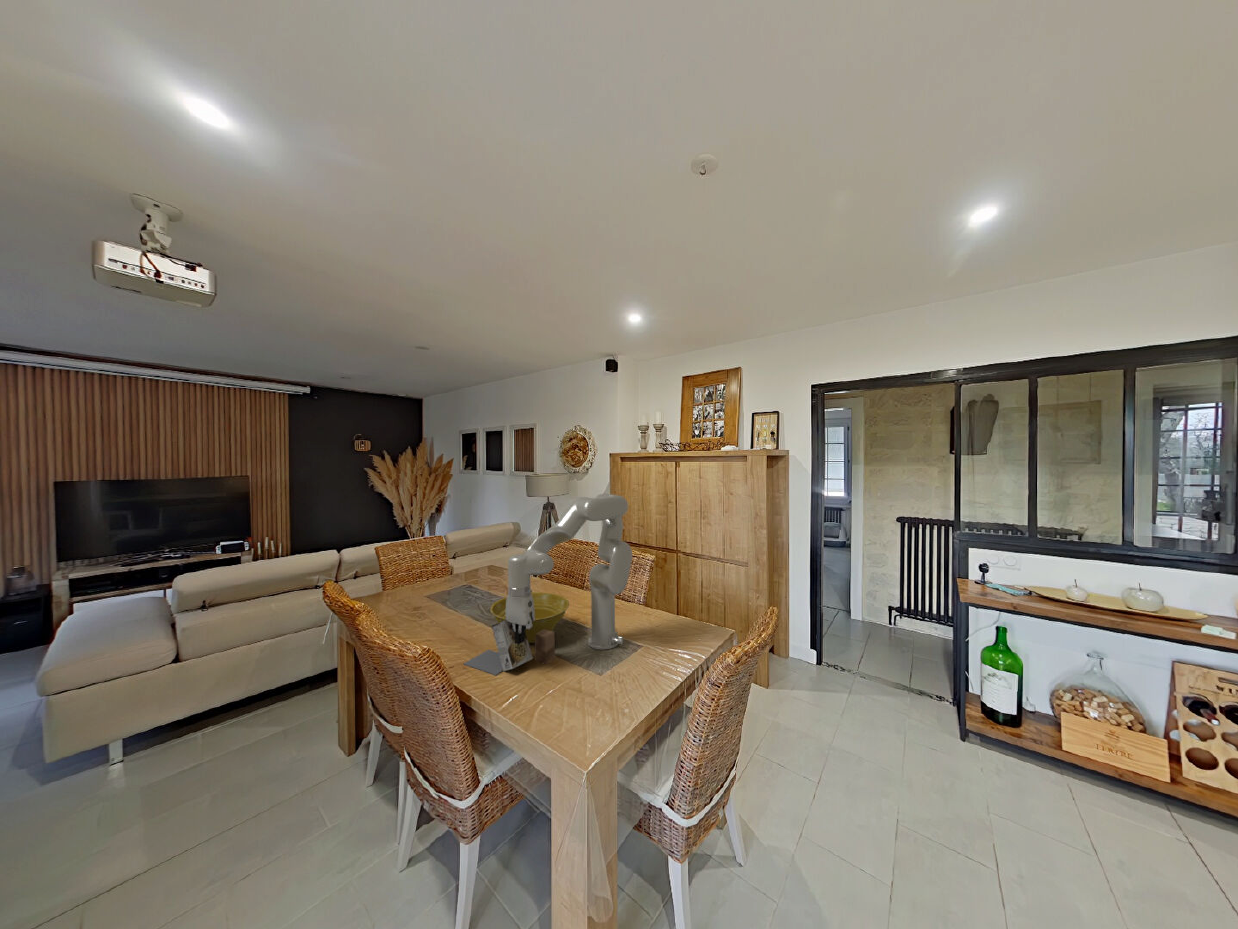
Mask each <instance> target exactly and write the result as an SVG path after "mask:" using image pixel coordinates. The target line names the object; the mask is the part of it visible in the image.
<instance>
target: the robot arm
mask: <svg viewBox="0 0 1238 929" xmlns="http://www.w3.org/2000/svg"><path fill="white" fill-rule="evenodd" d="M628 509H629V504H628V501H627V499H626V498H625V497H624V496H622V495H617V494H610V493H600V494H597V495H596V497H587V496H581V497H577V498H575V500H574V501H572V503H571V504H570V505H569V507H568V508H566V510H565V512H564V513H563V514H562V515H561V516H560V518H559V519H558V520H557V522H556V523H555V524H554V525H552V526H551V527H549V528H548V529H546V530H545V531H544V532H542V533H541V534H540V535H539V536H537V537H536V538H535V539H534V540H533V542H532V543H531V544H530V545H529V546H528V548H527V549H526V551H525V552H524V553H523V554H514V555H511V556H509V558H508V559H507V560H508V562H507V566H508V567H507V573H508V575H507V581H508V584H507V585H508V587H507V588H508V591H507V592H508V594H507V596H506V597H507V600H506V620H507V621H508V623H509V624H510V625H511V626H512V627H513V631H514V632H515V644H521V643H522V642H524V631H525V630H526V629H530V628H532V627H533V626H532V622H534V621H535V609H534V600H533V596H532V594H530V593H533V589H531V576H544V575H547V574H549V573H551V571H552V570H554V569H553V568H554V567H555V566H554V565H555V564H554V560H553V557H552V556H550V555H549V554H548V552H550V550H552V549H553V548H554V547H556V546H557V545H561V543H562V544H563V543H565V542H568V541H571V540H572V539H574V537H575V536H576V535H577V534H578V533H579V531H580V530H581V528H582V527H583V525H585V523H586V522H587V521H590V522H602V526H601V527H602V528H601V529H602V530H601V533H600V538H599V541H598V547H597V555H598V557H599V558H600V559H601V560H603V561H604V562H607V563H609V564H604V563H597V564H595V565H593V566H592V567H591V569H590V571H589V574H588V581H589V582H588V583H589V588H590V598H591V600H590V601H591V602H590V603H591V604H590V605H591V607H590V608H591V611H590V613H591V620H590V621H591V636H589V638H588V639H587V645H588V647H590V648H592V649H595V650H600V651H601V650H604V651H605V650H610V649H613V648H616V647H617V646H618V645H623V643H624V636H621V635H618V631H617V630H616V596H615V595H620V594H621V593H623V592H624V590H625V589H626V587H627V584H628V580H629V577H630V571H631V567H632V560H633V551H632V548H631V546H630V544H628V543H627V542H626V541H624V540H622V538H623V532H624V522H623V516H624V515H626V513H628V511H629V510H628ZM522 626H523V627H522Z"/></svg>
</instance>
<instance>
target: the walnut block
mask: <svg viewBox="0 0 1238 929" xmlns="http://www.w3.org/2000/svg"><path fill="white" fill-rule="evenodd" d="M534 644H535V645H534V649H535V650H534V651H535V652H534V656H535V657H534V660H535V661H534V662H535V663H540V664H543V665H548V664H550V663H551V662H552V661H554V660H555V653H556V652H555V651H556V648H555V644H556V643H555V631H548V630H542V631H540V632H538V633H537V634H535V643H534Z"/></svg>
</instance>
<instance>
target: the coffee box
mask: <svg viewBox="0 0 1238 929" xmlns="http://www.w3.org/2000/svg"><path fill="white" fill-rule="evenodd" d="M522 627H523V626H522ZM491 630H492V632H493V637H494V641H495V643H496V644H495V645H496V647H497V648H496V649H497V652H498V653H499V656H500V660H501V664H502V667H503V672H507V671H510V670H513V669H516V668H518V667H519V666H521V665H523V664H525V663H528V662H529V661H531V660H533V659H534V657H533V654H532V650H531V647H530V643H529V642H528V639H527V636H526V632H525V631H524V642H522V643H521V644H515V632H514V631H513V627H512V626H511V625H510V624H509V623H508V621H507V620H504V621H501V622H499V623H498V622H497V623H494V624H492V625H491Z"/></svg>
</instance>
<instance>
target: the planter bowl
mask: <svg viewBox="0 0 1238 929" xmlns="http://www.w3.org/2000/svg"><path fill="white" fill-rule="evenodd" d="M530 594H532V596H533V600H534V609H535V621H534V622H532V626H533V627H532V628H530V629H526V630H525V632H526V636H527V639H528V642H529V644H535V634H537V633H538V632H540V631H542V630H548V631H552V632H554V629H555V628H556V625H557V624H558V623H559V622H560V621H561V620H562V619H563V617H564V616H565V614H566V611H567V610H568V608H570V602H569V600H568V599H567V598H566V597H564V596H562V595H559V594H556V593H549V592H532V593H530ZM506 600H507V596H506V597H504V598H501V599H499V600H497V601H495V602H494V603H493V604H492V605H490V613H491V614H492V615H493V617H494V618H495V620H496V622H497V623H499V622H501V621H504V620H506Z"/></svg>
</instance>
